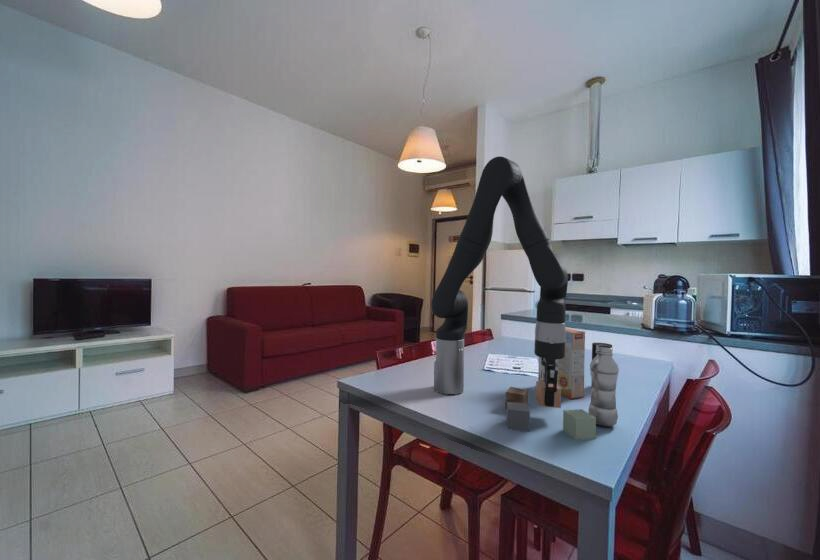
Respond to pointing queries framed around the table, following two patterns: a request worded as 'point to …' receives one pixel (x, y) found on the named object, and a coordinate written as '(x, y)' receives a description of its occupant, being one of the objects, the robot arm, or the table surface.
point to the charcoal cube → (518, 416)
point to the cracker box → (571, 365)
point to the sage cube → (579, 424)
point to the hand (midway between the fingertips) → (547, 401)
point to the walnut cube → (516, 395)
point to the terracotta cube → (541, 395)
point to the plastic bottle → (604, 387)
